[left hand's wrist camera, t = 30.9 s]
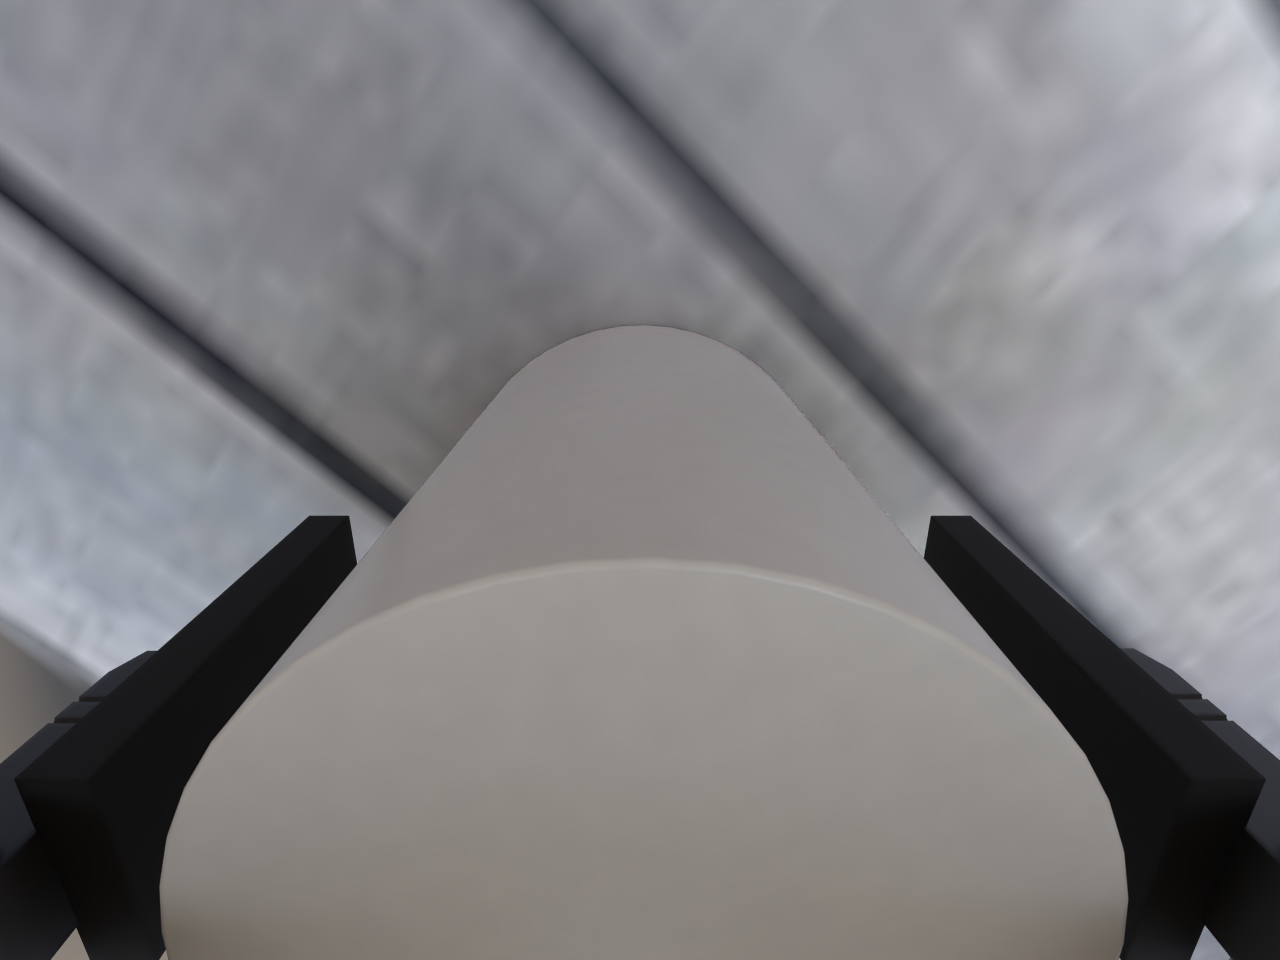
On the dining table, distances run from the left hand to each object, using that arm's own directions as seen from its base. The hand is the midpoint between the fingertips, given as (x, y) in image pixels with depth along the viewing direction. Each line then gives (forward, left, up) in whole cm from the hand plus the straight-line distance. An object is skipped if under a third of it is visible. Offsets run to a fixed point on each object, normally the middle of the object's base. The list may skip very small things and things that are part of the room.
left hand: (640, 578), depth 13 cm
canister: (0, 0, -4) cm, 4 cm away
